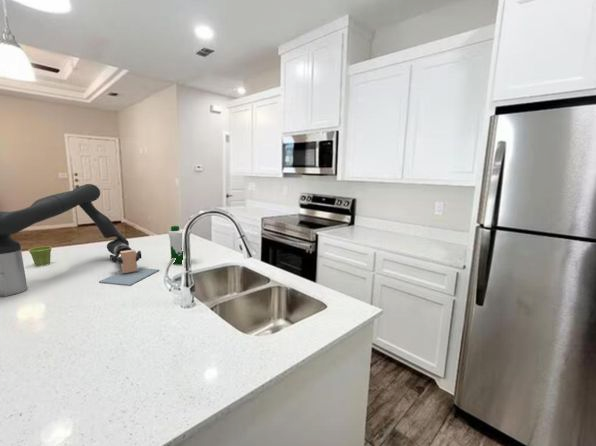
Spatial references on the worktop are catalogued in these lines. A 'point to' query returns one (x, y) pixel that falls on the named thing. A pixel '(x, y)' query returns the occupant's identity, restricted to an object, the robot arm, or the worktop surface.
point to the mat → (129, 277)
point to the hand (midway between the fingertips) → (129, 260)
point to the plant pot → (41, 255)
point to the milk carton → (176, 244)
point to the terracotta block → (128, 261)
